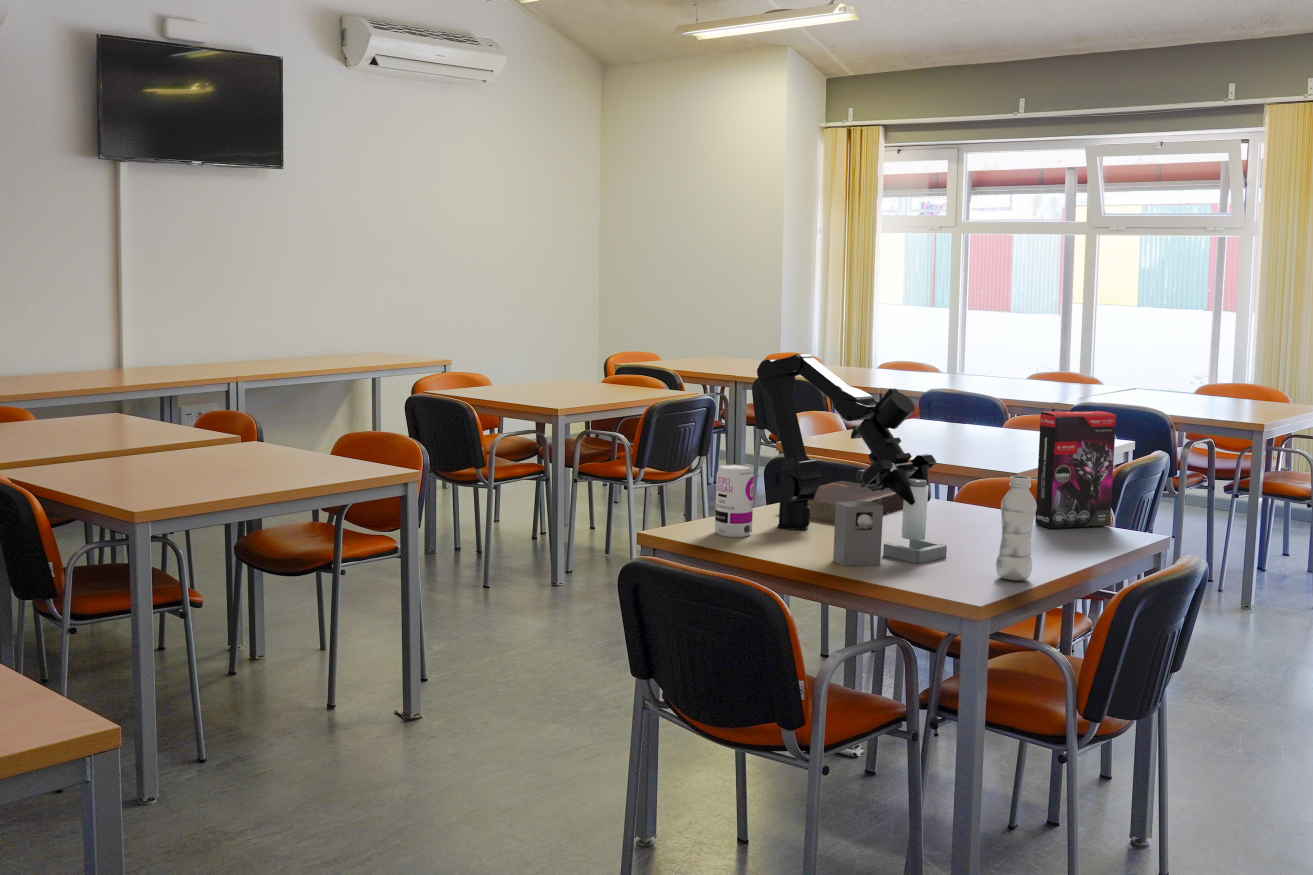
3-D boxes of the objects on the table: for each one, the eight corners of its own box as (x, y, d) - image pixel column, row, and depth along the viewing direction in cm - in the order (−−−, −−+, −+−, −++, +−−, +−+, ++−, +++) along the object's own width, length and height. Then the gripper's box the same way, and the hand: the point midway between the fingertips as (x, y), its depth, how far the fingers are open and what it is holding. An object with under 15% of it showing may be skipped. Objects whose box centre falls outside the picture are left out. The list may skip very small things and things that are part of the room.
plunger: (839, 522, 233) (840, 505, 232) (855, 521, 234) (856, 504, 233) (857, 531, 225) (858, 513, 224) (874, 530, 226) (875, 513, 225)
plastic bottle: (989, 575, 222) (996, 474, 219) (1023, 575, 223) (1030, 474, 220) (1002, 583, 216) (1009, 480, 213) (1037, 584, 216) (1044, 480, 213)
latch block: (833, 560, 231) (835, 502, 229) (869, 558, 233) (872, 501, 231) (843, 566, 226) (846, 506, 224) (880, 564, 228) (883, 505, 226)
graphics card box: (1048, 530, 266) (1057, 414, 262) (1031, 523, 272) (1039, 410, 269) (1110, 527, 271) (1119, 413, 267) (1091, 521, 277) (1100, 410, 274)
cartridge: (901, 538, 235) (904, 481, 233) (901, 533, 239) (905, 477, 237) (925, 540, 233) (928, 483, 232) (925, 535, 238) (928, 479, 236)
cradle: (883, 555, 236) (883, 543, 236) (913, 548, 243) (914, 537, 242) (917, 563, 230) (918, 551, 229) (948, 556, 236) (948, 545, 236)
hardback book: (848, 526, 266) (850, 505, 265) (781, 514, 278) (782, 494, 277) (906, 509, 288) (907, 490, 288) (841, 499, 300) (842, 480, 299)
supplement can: (755, 531, 255) (758, 465, 253) (746, 539, 248) (748, 471, 246) (720, 528, 258) (722, 463, 256) (710, 535, 250) (712, 468, 248)
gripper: (885, 461, 252) (923, 519, 245) (830, 469, 240) (868, 529, 233) (917, 430, 245) (957, 489, 238) (861, 436, 233) (902, 498, 226)
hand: (920, 502), depth 234 cm, fingers closed on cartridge, 5 cm apart
